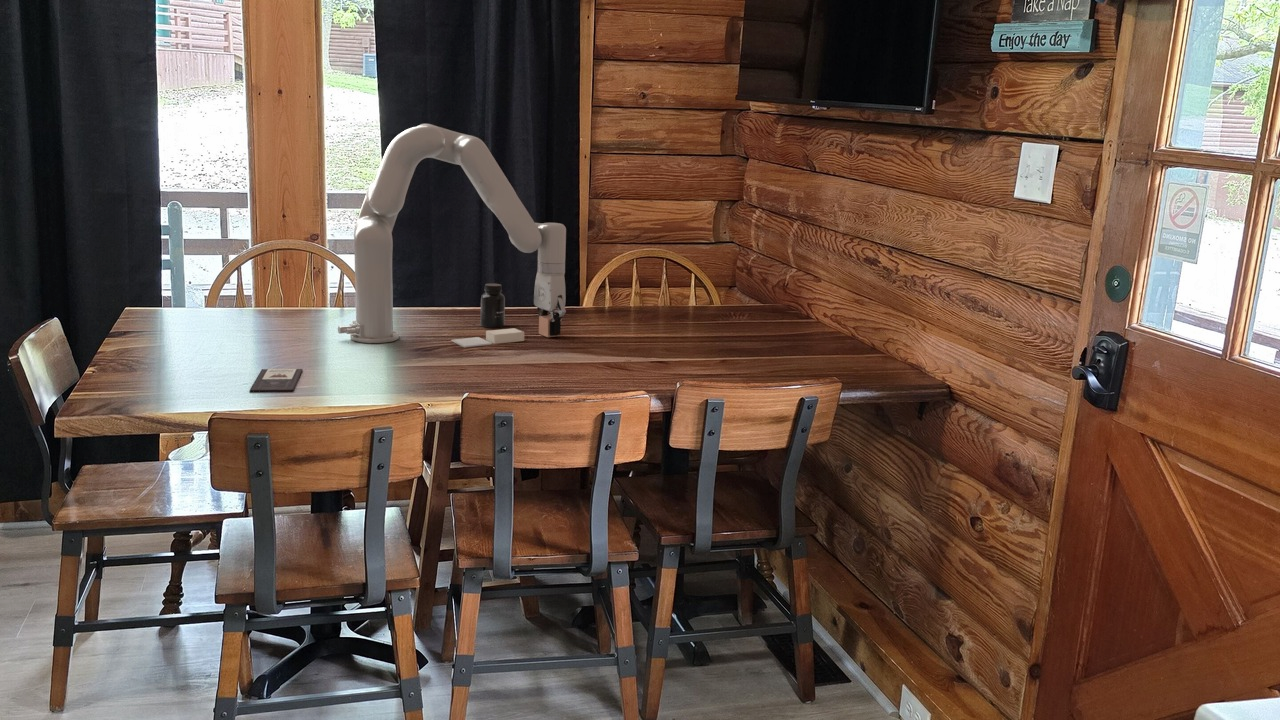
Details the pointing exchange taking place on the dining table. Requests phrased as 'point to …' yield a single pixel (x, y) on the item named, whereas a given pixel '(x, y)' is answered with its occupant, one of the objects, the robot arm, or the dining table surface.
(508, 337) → the cream rectangular block
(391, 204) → the robot arm
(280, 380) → the chocolate bar
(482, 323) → the supplement bottle
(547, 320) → the tan wooden block
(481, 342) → the mat
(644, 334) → the dining table surface
